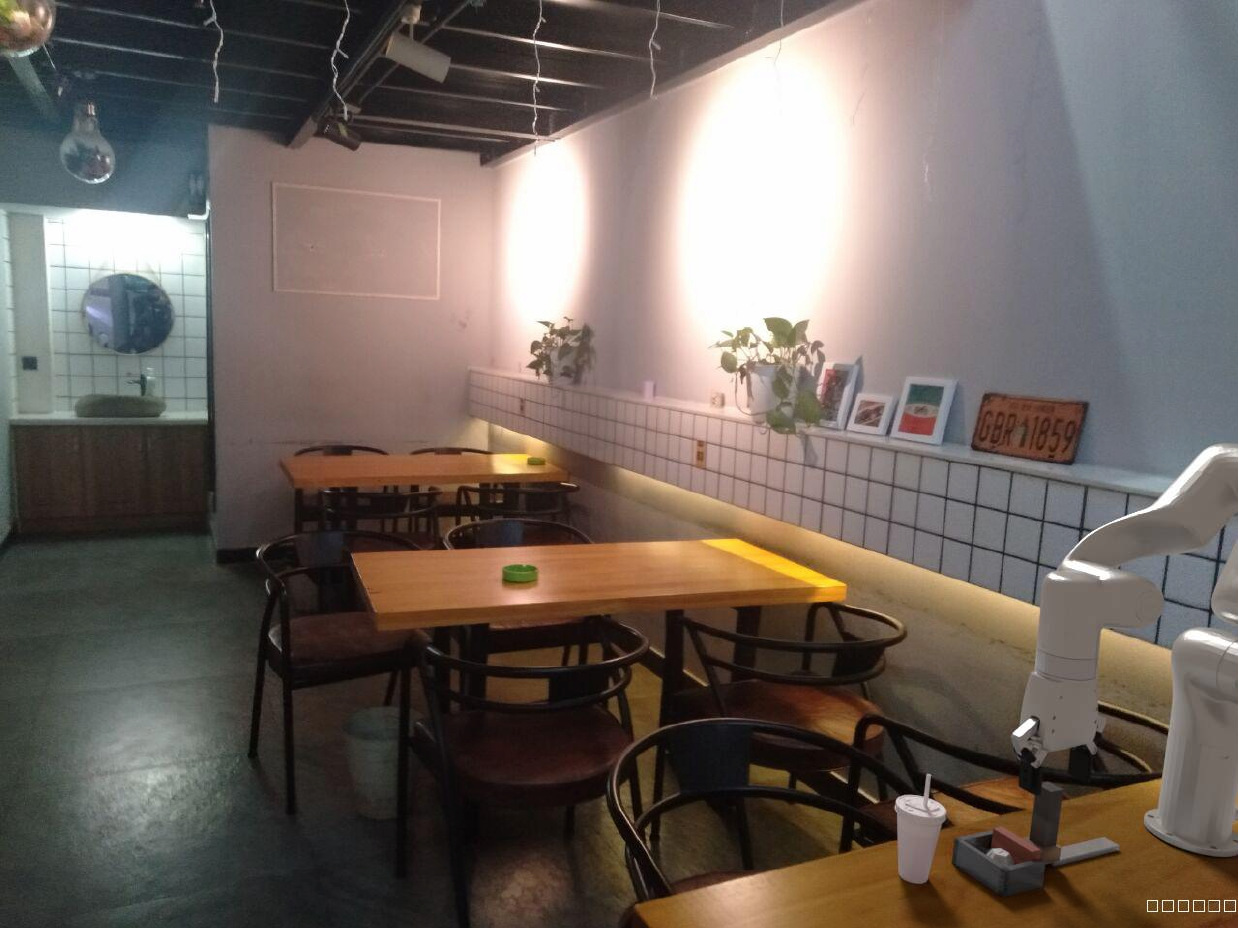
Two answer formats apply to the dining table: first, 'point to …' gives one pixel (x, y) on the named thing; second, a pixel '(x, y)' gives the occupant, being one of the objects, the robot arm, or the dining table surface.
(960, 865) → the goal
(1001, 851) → the game die
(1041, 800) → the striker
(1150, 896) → the dining table surface
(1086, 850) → the rail
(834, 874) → the dining table surface
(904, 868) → the smoothie
